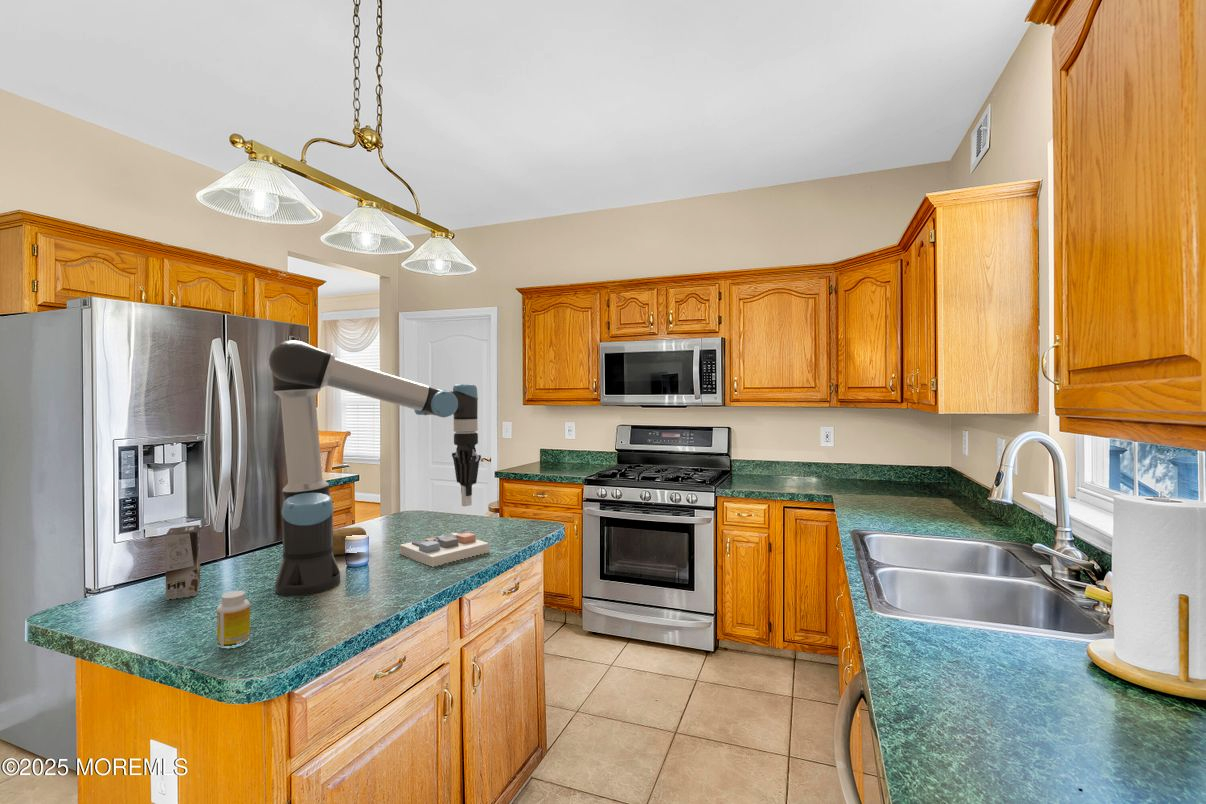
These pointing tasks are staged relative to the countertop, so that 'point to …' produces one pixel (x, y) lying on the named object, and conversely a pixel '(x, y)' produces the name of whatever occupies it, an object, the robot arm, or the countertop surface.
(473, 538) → the key terracotta
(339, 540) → the potato
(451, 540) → the key charcoal
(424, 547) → the key slate
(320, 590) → the robot arm
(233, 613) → the supplement bottle
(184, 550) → the coffee box
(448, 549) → the keypad
